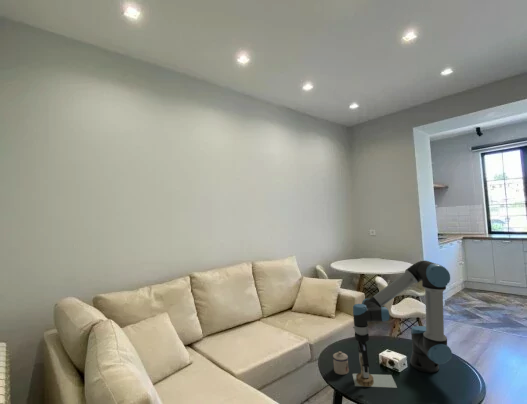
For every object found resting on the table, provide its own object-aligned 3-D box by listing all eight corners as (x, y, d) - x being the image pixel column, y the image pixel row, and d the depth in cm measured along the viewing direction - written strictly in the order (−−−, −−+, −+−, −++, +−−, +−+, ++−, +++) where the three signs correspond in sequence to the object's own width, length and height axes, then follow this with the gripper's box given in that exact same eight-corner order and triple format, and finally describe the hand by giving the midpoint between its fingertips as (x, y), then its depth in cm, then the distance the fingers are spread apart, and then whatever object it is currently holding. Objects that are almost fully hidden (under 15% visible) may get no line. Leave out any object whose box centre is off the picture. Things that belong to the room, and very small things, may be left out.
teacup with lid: (349, 375, 170) (348, 355, 170) (334, 375, 172) (332, 355, 172) (348, 364, 182) (346, 346, 182) (333, 364, 184) (331, 345, 184)
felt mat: (391, 375, 168) (391, 374, 168) (397, 388, 156) (397, 387, 156) (352, 374, 172) (352, 373, 172) (355, 386, 160) (355, 386, 160)
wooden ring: (371, 377, 167) (371, 372, 167) (375, 386, 158) (374, 382, 158) (355, 376, 168) (355, 372, 168) (358, 386, 159) (357, 381, 160)
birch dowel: (366, 380, 164) (365, 355, 165) (367, 383, 161) (365, 358, 162) (361, 379, 165) (359, 355, 165) (362, 383, 162) (360, 357, 162)
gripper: (351, 323, 177) (354, 358, 176) (358, 342, 152) (360, 383, 152) (364, 323, 176) (367, 359, 175) (372, 342, 151) (375, 383, 150)
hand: (364, 370), depth 163 cm, fingers open, 13 cm apart
